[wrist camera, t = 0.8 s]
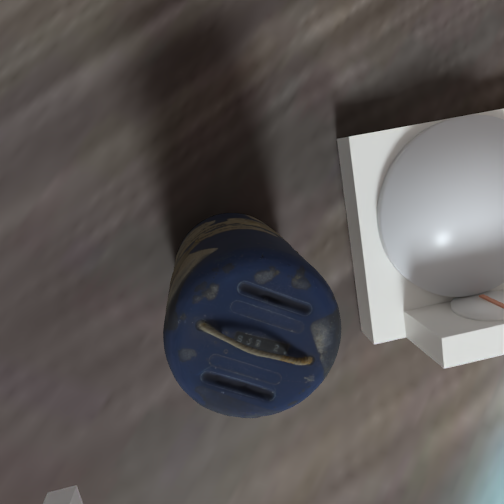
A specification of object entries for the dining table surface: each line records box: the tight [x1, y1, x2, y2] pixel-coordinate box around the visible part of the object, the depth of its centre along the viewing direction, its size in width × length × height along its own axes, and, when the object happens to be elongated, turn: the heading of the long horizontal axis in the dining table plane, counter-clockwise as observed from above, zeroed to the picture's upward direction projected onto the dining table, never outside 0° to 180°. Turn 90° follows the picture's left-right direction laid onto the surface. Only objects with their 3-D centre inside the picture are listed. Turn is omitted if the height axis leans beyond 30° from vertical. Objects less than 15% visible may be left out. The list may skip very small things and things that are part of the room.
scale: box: [337, 108, 504, 369], centre depth 35 cm, size 18×18×9 cm
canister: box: [163, 213, 341, 418], centre depth 29 cm, size 10×10×18 cm
